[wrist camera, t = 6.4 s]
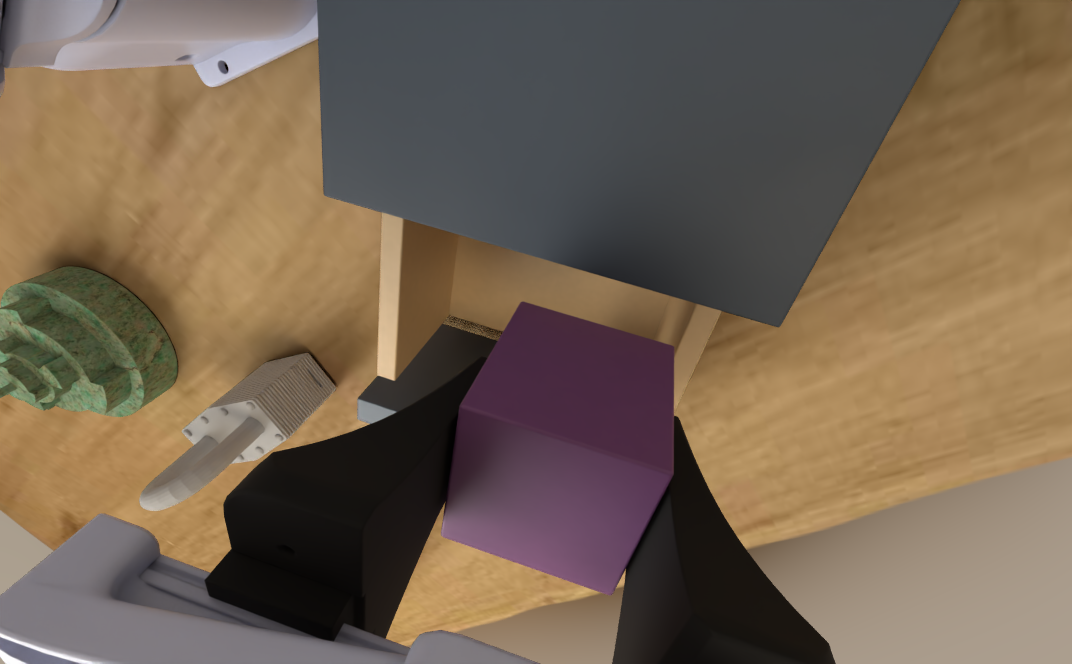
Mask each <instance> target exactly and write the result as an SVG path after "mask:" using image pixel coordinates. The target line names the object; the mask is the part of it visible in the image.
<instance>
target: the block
mask: <svg viewBox="0 0 1072 664" xmlns="http://www.w3.org/2000/svg"><path fill="white" fill-rule="evenodd" d="M673 475H674V346H672V345H669V344H666V343H662V342H659V341H656V340H652V339H649V338H645V337H642V336H639V335H635V334H632V333H628V332H625V331H622V330H618V329H615V328H612V327H608V326H605V325H601V324H598V323H595V322H591V321H588V320H584V319H581V318H578V317H574V316H571V315H568V314H564V313H561V312H557V311H554V310H551V309H547V308H544V307H540V306H537V305H534V304H530V303H527V302H521V303H520V304H519V306H518V307H517V309H516V311H515V313H514V314H513V316H512V318H511V319H510V321H509V323H508V324H507V326H506V328H505V330H504V331H503V333H502V335H501V336H500V338H499V340H498V341H497V343H496V345H495V347H494V348H493V350H492V352H491V353H490V355H489V357H488V358H487V360H486V362H485V364H484V365H483V367H482V369H481V370H480V372H479V374H478V375H477V377H476V379H475V381H474V382H473V384H472V386H471V387H470V389H469V391H468V392H467V394H466V396H465V398H464V399H463V401H462V403H461V404H460V407H459V414H458V421H457V427H456V434H455V441H454V448H453V455H452V462H451V468H450V475H449V482H448V489H447V496H446V503H445V509H444V516H443V523H442V530H441V536H442V537H444V538H447V539H450V540H453V541H456V542H459V543H461V544H464V545H467V546H470V547H473V548H476V549H479V550H481V551H484V552H487V553H490V554H493V555H496V556H499V557H501V558H504V559H507V560H510V561H513V562H516V563H519V564H521V565H524V566H527V567H530V568H533V569H536V570H539V571H541V572H544V573H547V574H550V575H553V576H556V577H559V578H561V579H564V580H567V581H570V582H573V583H576V584H578V585H581V586H584V587H587V588H590V589H593V590H596V591H598V592H601V593H604V594H607V595H612V594H613V592H614V591H615V589H616V587H617V585H618V583H619V581H620V579H621V577H622V575H623V573H624V571H625V569H626V567H627V565H628V563H629V561H630V559H631V557H632V555H633V553H634V551H635V549H636V547H637V545H638V543H639V541H640V539H641V537H642V536H643V534H644V532H645V530H646V528H647V526H648V524H649V522H650V520H651V518H652V516H653V514H654V512H655V510H656V508H657V506H658V504H659V502H660V500H661V498H662V496H663V494H664V492H665V490H666V488H667V486H668V484H669V483H670V481H671V479H672V477H673Z"/></svg>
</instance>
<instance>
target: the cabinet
mask: <svg viewBox="0 0 1072 664" xmlns="http://www.w3.org/2000/svg"><path fill="white" fill-rule="evenodd" d="M960 1H961V0H317V18H318V46H319V74H320V102H321V131H322V159H323V187H324V195H325V196H327V197H331V198H334V199H337V200H341V201H344V202H348V203H351V204H355V205H358V206H362V207H365V208H368V209H372V210H375V211H379V212H382V213H386V214H389V215H393V216H396V217H400V218H403V219H406V220H410V221H413V222H417V223H420V224H424V225H427V226H431V227H434V228H437V229H441V230H444V231H448V232H451V233H455V234H458V235H462V236H465V237H468V238H472V239H475V240H479V241H482V242H486V243H489V244H493V245H496V246H499V247H503V248H506V249H510V250H513V251H517V252H520V253H524V254H527V255H531V256H534V257H537V258H541V259H544V260H548V261H551V262H555V263H558V264H562V265H565V266H568V267H572V268H575V269H579V270H582V271H586V272H589V273H593V274H596V275H599V276H603V277H606V278H610V279H613V280H617V281H620V282H624V283H627V284H631V285H634V286H637V287H641V288H644V289H648V290H651V291H655V292H658V293H662V294H665V295H668V296H672V297H675V298H679V299H682V300H686V301H689V302H693V303H696V304H699V305H703V306H706V307H710V308H713V309H717V310H720V311H724V312H727V313H731V314H734V315H737V316H741V317H744V318H748V319H751V320H755V321H758V322H762V323H765V324H768V325H772V326H775V327H780V326H781V324H782V322H783V321H784V319H785V317H786V315H787V313H788V312H789V310H790V308H791V306H792V304H793V302H794V301H795V299H796V297H797V295H798V293H799V292H800V290H801V288H802V286H803V284H804V283H805V281H806V279H807V277H808V275H809V274H810V272H811V270H812V268H813V266H814V265H815V263H816V261H817V259H818V257H819V256H820V254H821V252H822V250H823V248H824V246H825V245H826V243H827V241H828V239H829V237H830V236H831V234H832V232H833V230H834V228H835V227H836V225H837V223H838V221H839V219H840V218H841V216H842V214H843V212H844V210H845V209H846V207H847V205H848V203H849V201H850V200H851V198H852V196H853V194H854V192H855V190H856V189H857V187H858V185H859V183H860V181H861V180H862V178H863V176H864V174H865V172H866V171H867V169H868V167H869V165H870V163H871V162H872V160H873V158H874V156H875V154H876V153H877V151H878V149H879V147H880V145H881V144H882V142H883V140H884V138H885V136H886V134H887V133H888V131H889V129H890V127H891V125H892V124H893V122H894V120H895V118H896V116H897V115H898V113H899V111H900V109H901V107H902V106H903V104H904V102H905V100H906V98H907V97H908V95H909V93H910V91H911V89H912V88H913V86H914V84H915V82H916V80H917V78H918V77H919V75H920V73H921V71H922V69H923V68H924V66H925V64H926V62H927V60H928V59H929V57H930V55H931V53H932V51H933V50H934V48H935V46H936V44H937V42H938V41H939V39H940V37H941V35H942V33H943V32H944V30H945V28H946V26H947V24H948V22H949V21H950V19H951V17H952V15H953V13H954V12H955V10H956V8H957V6H958V4H959V3H960Z"/></svg>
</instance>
